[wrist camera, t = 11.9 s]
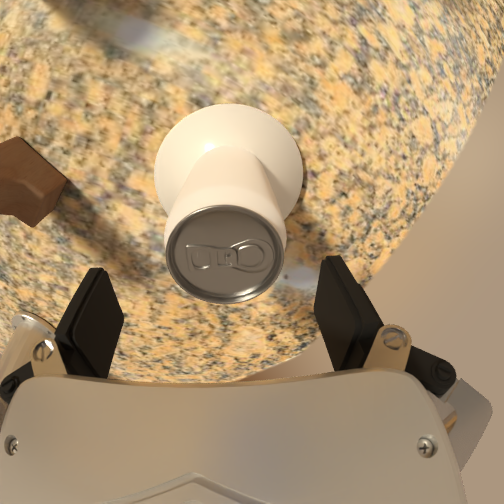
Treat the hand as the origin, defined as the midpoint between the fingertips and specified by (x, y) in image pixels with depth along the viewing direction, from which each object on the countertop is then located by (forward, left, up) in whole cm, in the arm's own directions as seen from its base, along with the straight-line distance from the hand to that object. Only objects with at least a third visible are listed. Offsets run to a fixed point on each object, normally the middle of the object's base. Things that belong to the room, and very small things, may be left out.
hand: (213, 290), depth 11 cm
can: (0, 0, -14) cm, 14 cm away
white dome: (0, -1, -15) cm, 15 cm away
